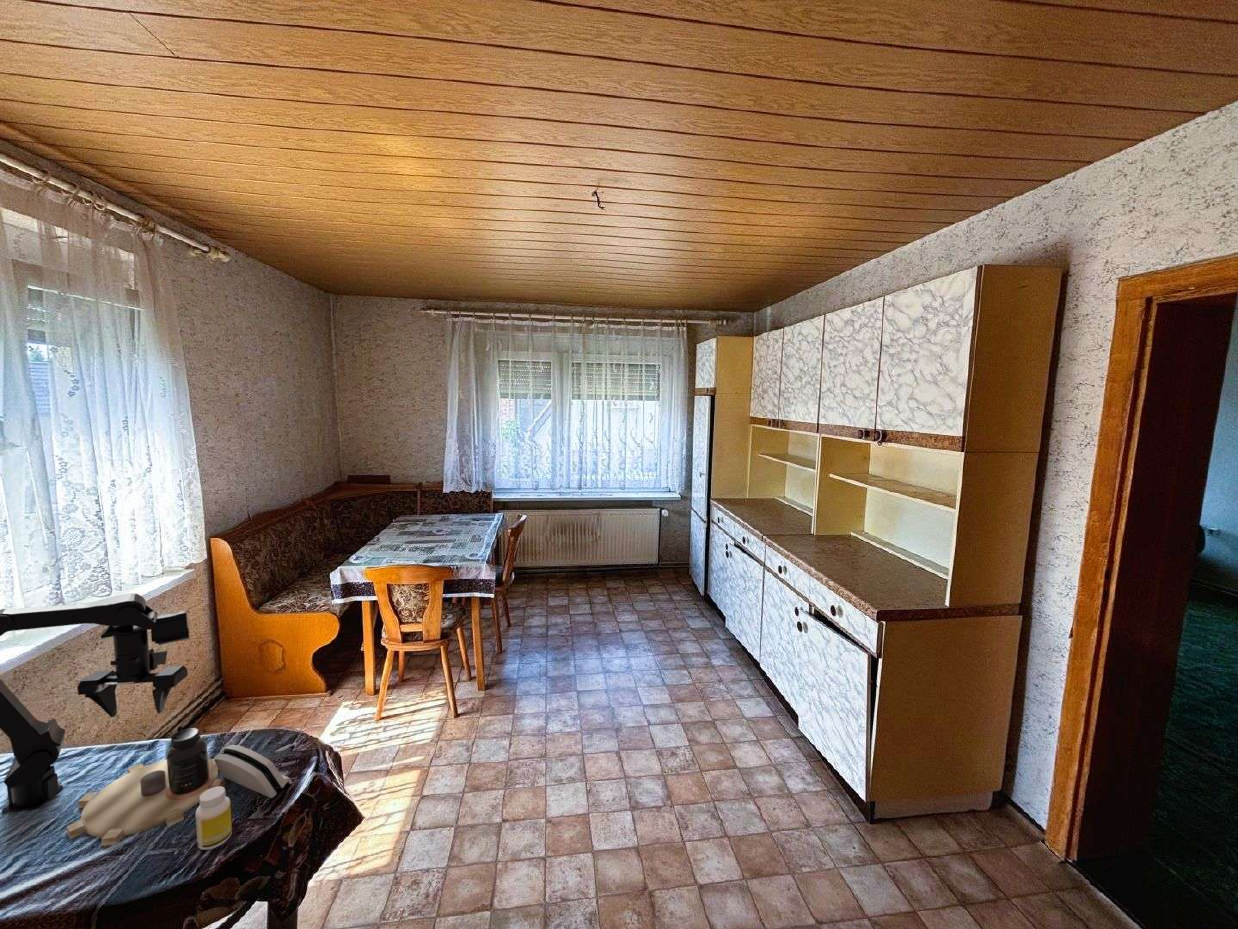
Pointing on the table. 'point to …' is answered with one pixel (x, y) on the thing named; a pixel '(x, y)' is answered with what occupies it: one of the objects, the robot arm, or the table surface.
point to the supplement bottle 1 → (187, 762)
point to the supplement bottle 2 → (213, 818)
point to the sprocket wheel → (137, 803)
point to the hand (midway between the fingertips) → (137, 714)
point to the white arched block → (250, 770)
